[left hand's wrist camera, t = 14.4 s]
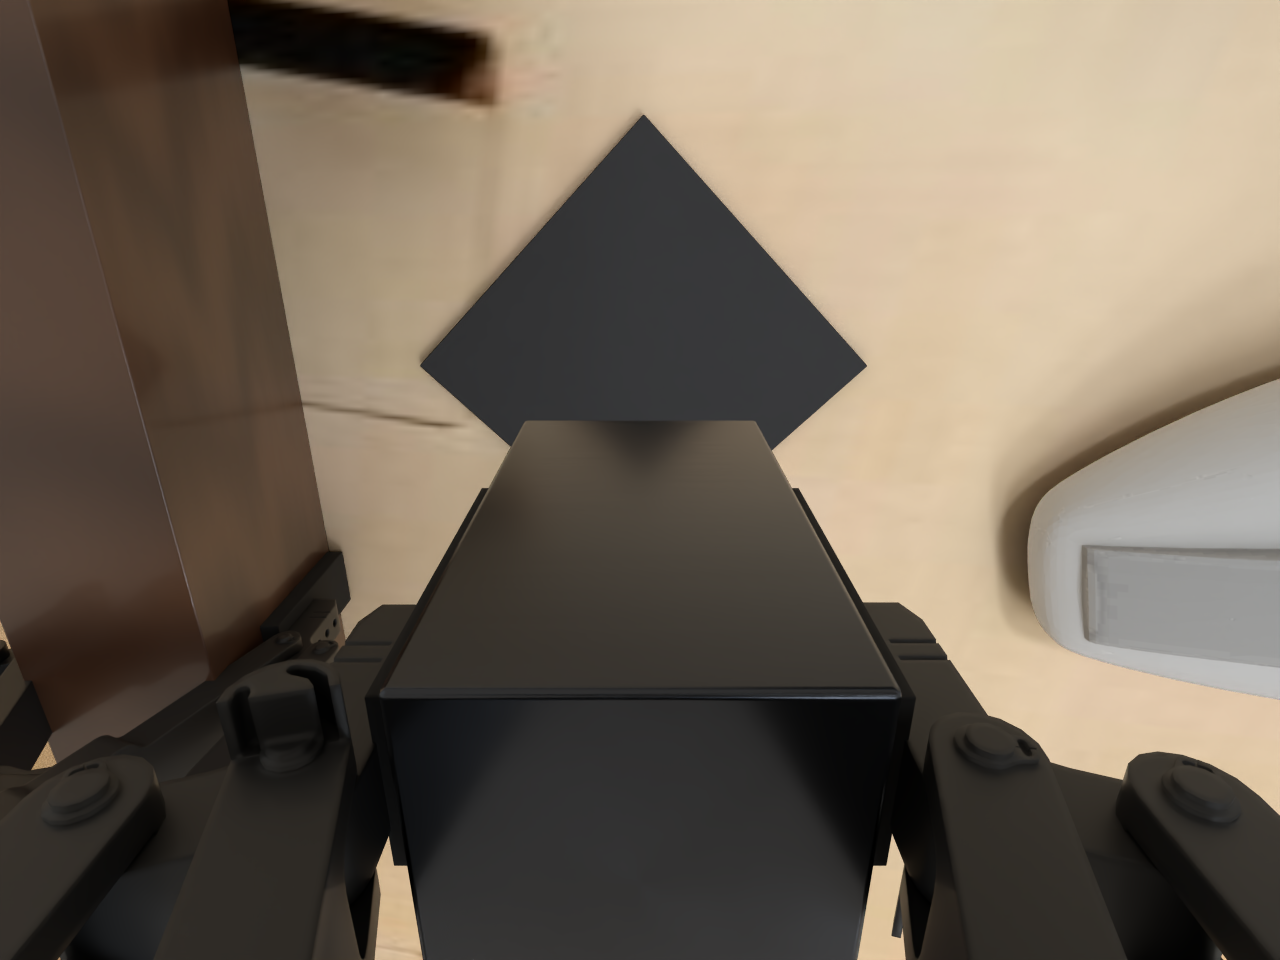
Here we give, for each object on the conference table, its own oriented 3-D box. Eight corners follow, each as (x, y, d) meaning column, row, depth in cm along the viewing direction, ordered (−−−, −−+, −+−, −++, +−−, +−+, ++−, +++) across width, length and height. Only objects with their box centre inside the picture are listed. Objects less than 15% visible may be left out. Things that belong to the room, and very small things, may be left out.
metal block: (523, 419, 15) (373, 692, 6) (757, 419, 15) (906, 692, 7) (536, 619, 17) (431, 1033, 8) (743, 619, 17) (848, 1034, 8)
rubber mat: (643, 115, 27) (643, 114, 27) (865, 364, 31) (867, 366, 31) (422, 364, 31) (419, 365, 31) (643, 560, 35) (643, 564, 34)
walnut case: (37, -17, 26) (-304, -142, 17) (224, -18, 26) (-12, -143, 17) (217, 656, 37) (73, 808, 28) (349, 657, 37) (249, 809, 28)
